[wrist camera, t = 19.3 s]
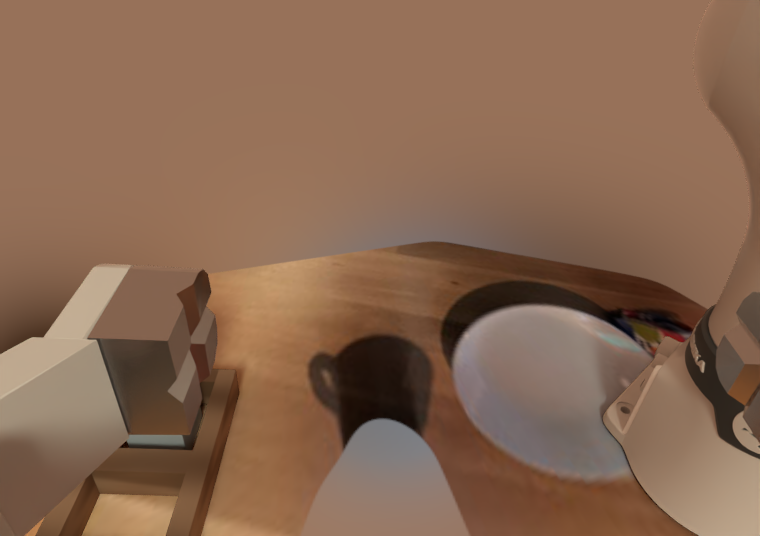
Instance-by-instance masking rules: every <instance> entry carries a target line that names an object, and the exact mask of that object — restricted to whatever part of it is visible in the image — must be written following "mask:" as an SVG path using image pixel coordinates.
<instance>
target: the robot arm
mask: <svg viewBox="0 0 760 536" xmlns="http://www.w3.org/2000/svg"><path fill="white" fill-rule="evenodd" d="M693 69H694V76H695V81H696V85H697V88H698V91H699V93H700V96H701V98H702V100H703V102H704V104H705V106H706V107H707V109H708V110H709V111H710V113H711V114H712V115H713V116H714V117H715V118H716V120H717V121H718V122H719V123H720V125H721V126H722V127H723V129H724V130H725V132H726V133H727V135H728V136H729V138H730V139H731V141H732V143H733V145H734V147H735V149H736V151H737V153H738V156H739V158H740V161H741V163H742V166H743V169H744V173H745V177H746V181H747V186H748V194H749V215H748V223H747V228H746V232H745V236H744V240H743V243H742V245H741V248H740V251H739V254H738V256H737V259H736V261H735V264H734V266H733V269H732V271H731V274H730V276H729V278H728V280H727V283H726V285H725V287H724V289H723V291H722V294H721V296H720V298H719V300H718V302H717V304H715V305H714V306H712V307H710V308H709V309H708V310H707V311H706V312H705V314H704V316H703V317H702V318H701V319H700V320H699V321H698V323H697V324H696V326H695V328H694V330H693V332H692V335H691V336H690V337H689V338H688V339H687V340H686V341H685V342H678V341H677V340H675V339H673V338H671V337H669V336H668V337H667V336H666V337H665V338H664V339H663V340H662V342H661V343H660V345H659V346H658V348H657V350H656V352H655V355H654V356H655V358H654V360H653V361H652V362H651V363H650V364H649V365H648V366H647V367H646V368H645V369H644V371H643V372H642V373H641V374H640V375H639V376H638V377H637V378H636V379H635V380H634V381H633V382H632V383H631V384H630V385H629V386H628V387H627V389H626V390H625V391H624V392H623V393H622V394H621V395H620V396H619V397H618V398H617V399H616V400H615V401H614V402H613V403H612V404H611V405H610V407H609V408H608V409H607V411H606V412H605V414H604V415H603V422H604V424H605V426H606V427H607V429H608V430H609V431H610V432H611V434H612V435H613V436H614V437H615V438H616V439H617V441H618V442H619V443H620V444H621V445H622V447H623V449H624V451H625V453H626V456H627V458H628V461H629V464H630V466H631V468H632V471H633V473H634V475H635V476H636V478H637V480H638V481H639V483H640V484H641V486H642V487H643V489H644V490H645V491H646V492H647V494H648V495H649V496H650V497H651V498H652V500H653V501H654V502H655V503H656V504H657V505H658V506H659V507H660V508H661V509H662V510H664V511H665V512H666V513H667V514H668V515H669V516H670V517H672V518H673V519H674V520H676V521H677V522H678V523H680V524H681V525H683V526H684V527H685V528H687V529H689V530H690V531H692V532H694V533H695V534H697V535H699V536H760V0H711V1H710V3H709V5H708V7H707V9H706V11H705V13H704V15H703V17H702V19H701V22H700V25H699V28H698V31H697V35H696V40H695V44H694V54H693ZM210 294H211V288H210V283H209V278H208V274H207V273H206V272H205V271H204V270H203V269H191V268H175V267H159V266H141V265H136V266H133V265H120V264H100V265H98V266H95V267H94V268H93V269H92V270H91V271H90V273H89V274H88V276H87V277H86V278H85V280H84V281H83V283H82V284H81V285H80V287H79V288H78V290H77V291H76V293H75V294H74V295H73V297H72V298H71V299H70V301H69V302H68V304H67V305H66V307H65V308H64V309H63V311H62V312H61V314H60V315H59V316H58V318H57V319H56V321H55V322H54V323H53V325H52V326H51V328H50V329H49V330H48V332H47V333H46V335H45V336H44V337H43V338H35V337H32V338H30V339H28V340H26V341H25V342H22V343H21V344H19V345H17V346H15V347H13V348H11V349H10V350H8V351H6V352H4V353H2V354H0V536H24V535H25V534H26V533H28V532H29V531H30V530H31V529H32V528H33V527H34V526H35V525H36V524H37V523H38V522H39V521H40V520H42V519H43V518H44V517H45V516H46V515H47V514H48V513H49V512H50V511H51V510H52V509H53V508H54V507H56V506H57V505H58V504H59V503H60V502H61V501H62V500H63V499H64V498H65V497H66V496H67V495H68V494H70V493H71V492H72V491H73V490H74V489H75V488H76V487H77V486H78V485H79V484H80V483H81V482H82V481H84V480H85V479H86V478H87V477H88V476H89V475H90V474H91V473H92V472H93V471H94V470H95V469H96V468H98V467H99V466H100V465H101V464H102V463H103V462H104V461H105V460H106V459H107V458H108V457H109V456H110V455H112V454H113V453H114V452H115V451H116V450H117V449H118V448H119V447H120V446H121V445H122V444H123V443H124V442H126V441H127V440H128V439H129V435H190V433H191V430H192V427H193V425H194V422H195V419H196V416H197V413H198V410H199V407H200V404H201V401H202V394H201V388H200V383H201V382H202V381H203V380H205V379H206V378H207V377H208V376H210V374H211V371H212V367H213V364H214V361H215V354H216V347H217V325H216V318H215V314H214V313H213V312H212V311H210V310H209V309H208V308H207V307H206V305H207V302H208V299H209V297H210ZM623 412H625V413H626V414H625V413H623Z"/></svg>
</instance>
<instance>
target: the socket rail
mask: <svg viewBox="0 0 760 536" xmlns="http://www.w3.org/2000/svg"><path fill="white" fill-rule="evenodd" d="M200 388H201V394H202V401H201V404H208V405H207V408H206V411H205V414H204V417H203V421H202V424H201V427H200V430H199V433H198V436H197V439H196V443H195V446H194V449H193V450H170V449H140V448H120V447H121V446H120V447H119V448H118V449H117V450H116V451H115V452H114V453H113V454H112V455H110V456H109V457H108V458H107V459H106V460H105V461H104V462H103V463H102V464H101V465H100V466H99V467H98V468H96V469H95V470H94V471H93V472H92V473H91V474H90V475H89V476H88V477H87V478H86V479H85V480H84V481H82V482H81V483H80V484H79V485H78V486H77V487H76V488H75V489H74V490H73V491H72V492H71V493H70V494H68V495H67V496H66V497H65V498H64V499H63V500H62V501H61V502H60V503H59V504H58V505H57V506H56V507H54V508H53V509H52V510H51V511H50V512H49V513H48V514H47V515H46V516H45V518H44V520H43V522H42V524H41V526H40V528H39V530H38V532H37V534H36V536H81V535H82V532H83V530H84V528H85V526H86V523H87V521H88V519H89V517H90V514H91V512H92V510H93V508H94V505H95V503H96V501H97V499H98V496H99V494H132V495H164V496H178V499H177V502H176V505H175V508H174V511H173V515H172V518H171V521H170V524H169V527H168V530H167V533H166V536H201V533H202V530H203V526H204V522H205V518H206V515H207V511H208V507H209V504H210V500H211V496H212V492H213V489H214V485H215V481H216V477H217V474H218V470H219V466H220V462H221V459H222V455H223V451H224V447H225V444H226V440H227V436H228V433H229V429H230V425H231V421H232V418H233V414H234V410H235V406H236V403H237V399H238V395H239V388H238V381H237V374H236V370H228V369H212V371H211V374H210V376H208V377H207V378H206V379H205V380H203V381H202V382H201V383H200Z"/></svg>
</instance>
